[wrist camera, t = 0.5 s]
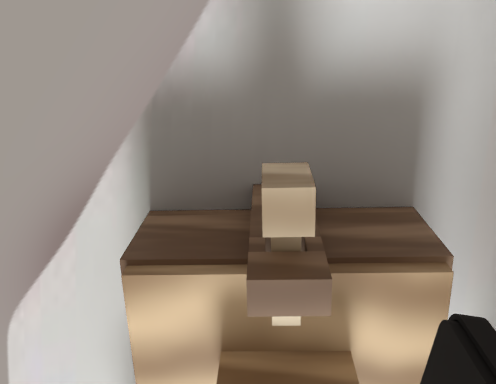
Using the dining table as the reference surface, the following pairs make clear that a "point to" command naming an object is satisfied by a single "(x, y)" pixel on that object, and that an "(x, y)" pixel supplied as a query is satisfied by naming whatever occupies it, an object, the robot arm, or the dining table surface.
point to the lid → (284, 337)
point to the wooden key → (287, 212)
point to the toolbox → (285, 263)
